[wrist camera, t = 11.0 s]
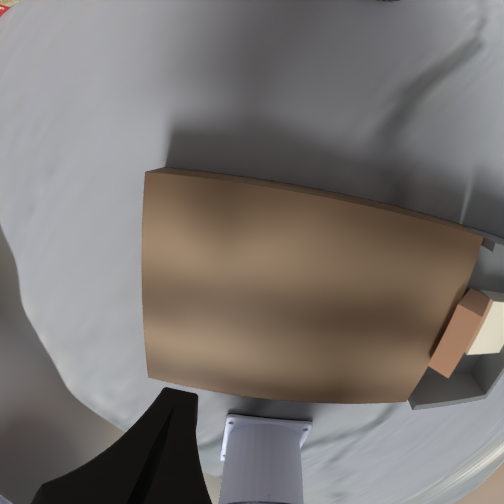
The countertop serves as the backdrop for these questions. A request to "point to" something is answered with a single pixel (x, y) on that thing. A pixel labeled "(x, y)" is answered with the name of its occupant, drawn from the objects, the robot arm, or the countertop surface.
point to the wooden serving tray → (294, 288)
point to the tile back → (489, 327)
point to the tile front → (459, 332)
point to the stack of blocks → (6, 5)
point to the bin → (469, 366)
